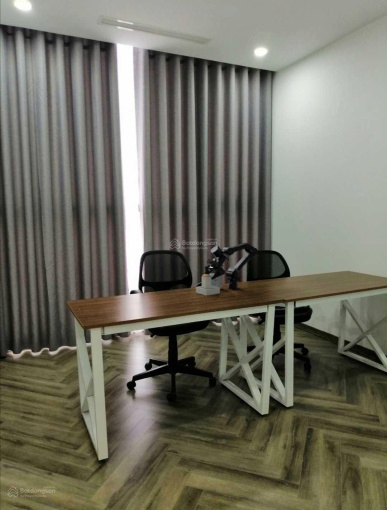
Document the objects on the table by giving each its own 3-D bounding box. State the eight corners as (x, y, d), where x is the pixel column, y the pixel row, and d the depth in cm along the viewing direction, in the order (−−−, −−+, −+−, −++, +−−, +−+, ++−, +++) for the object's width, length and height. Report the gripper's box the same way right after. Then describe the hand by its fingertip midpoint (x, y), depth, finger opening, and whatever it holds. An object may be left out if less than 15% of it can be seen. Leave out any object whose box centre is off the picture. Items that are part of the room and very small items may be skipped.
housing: (209, 290, 267) (209, 284, 266) (219, 293, 257) (219, 287, 256) (196, 292, 260) (195, 287, 259) (206, 295, 250) (205, 289, 250)
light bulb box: (204, 288, 273) (204, 274, 272) (208, 287, 279) (208, 273, 278) (218, 290, 268) (217, 275, 267) (221, 288, 274) (221, 274, 273)
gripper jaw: (207, 290, 261) (206, 274, 260) (211, 291, 257) (211, 275, 256) (201, 291, 258) (201, 274, 257) (205, 292, 254) (205, 275, 253)
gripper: (205, 253, 266) (193, 269, 261) (221, 255, 251) (209, 273, 246) (214, 262, 271) (202, 279, 266) (230, 265, 256) (218, 283, 251)
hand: (207, 278), depth 257 cm, fingers open, 9 cm apart
